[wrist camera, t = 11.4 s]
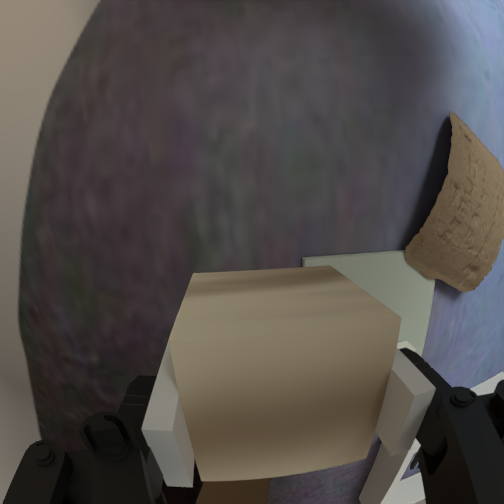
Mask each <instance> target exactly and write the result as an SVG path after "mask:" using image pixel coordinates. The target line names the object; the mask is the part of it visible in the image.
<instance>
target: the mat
mask: <svg viewBox="0 0 504 504" xmlns="http://www.w3.org/2000/svg"><path fill="white" fill-rule="evenodd" d="M328 265H330V266H332V267H333V268H335V269H336V270H337V271H339V272H340V273H342V274H343V275H344V276H346V277H347V278H349V279H350V280H351V281H353V282H354V283H356V284H357V285H358V286H360V287H361V288H362V289H364V290H365V291H367V292H368V293H369V294H371V295H372V296H373V297H375V298H376V299H378V300H379V301H380V302H382V303H383V304H384V305H386V306H387V307H388V308H390V309H391V310H392V311H394V312H395V313H396V314H398V315H399V316H400V317H402V319H401V325H400V331H399V337H398V342H402V341H407V342H408V343H410V344H411V345H412V346H413V347H414V348H415V349H416V350H415V352H416V353H417V354H419V355H420V356H422V352H423V348H424V343H425V339H426V334H427V329H428V324H429V318H430V313H431V306H432V300H433V293H434V286H435V279H429V278H426V277H425V276H424V275H423V274H422V273H421V272H420V271H419V270H418V269H416V268H415V267H413V266H412V265H411V264H409V263H408V261H407V260H406V250H397V251H384V252H371V253H357V254H343V255H329V256H314V257H302V267H313V266H328Z"/></svg>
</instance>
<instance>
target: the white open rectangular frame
mask: <svg viewBox="0 0 504 504" xmlns="http://www.w3.org/2000/svg"><path fill="white" fill-rule="evenodd" d="M503 379H504V372H501V373H499V374H497V375H496V376H494V377H492V378H490V379H488V380H486V381H485V382H483V383H481V384H479V385H477V386H475V387H473V388H471V389H470V390H472V391H474V392H475V393H476V394H477V395H484V394H490V393H493V392H494V390H495V388H496V386H497V383H498V382H499V381H501V380H503ZM420 446H421V445H420V444H419V442H418V441H417V439H416V438H415V440H414V442H413V445H412V447H411V449H410V450H408V451H405V452H402V453H400V454H397V455H394V456H391V457H390V455H389V453H388V452H387V450H386V448H385V447H384V445H383V443H381V446H380V448H379V451H378V454H377V456H376V459H375V461H374V464H373V466H372V469H371V471H370V474H369V476H368V478H367V481H366V483H365V485H364V487H363V489H362V492H361V494H360V496H359V500H360V502H361V504H414V503H416V502H418V501H420V500H422V499H425V494H424V488H423V482H422V477H421V472H420V473H418V474H415V475H413V476H411V477H408V478H406V479H403V480H401V481H400V479H401V477H402V475H403V474H404V472H405V470H406V468H407V466H408V464H409V462H410V460H411V458H412V456H413V454H414V453H416V452H418V450H419V448H420Z"/></svg>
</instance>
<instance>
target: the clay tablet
mask: <svg viewBox="0 0 504 504" xmlns="http://www.w3.org/2000/svg"><path fill="white" fill-rule="evenodd" d="M450 120H451V125H452V133H453V135H452V137H451V144H452V147H451V151H450V156H449V161H448V171H449V173H448V175H447V177H446V178H445V181H444V185H443V186H442V191H441V192H440V193H439V195H438V198H437V201H436V204H435V206H434V207H433V209H432V210H431V213H430V215H429V216H428V217H427V220H426V222H425V223H424V226H423V228H421V229H420V232H419V233H418V234H417V235H415V236H414V237H413V239H412V241H410V243H409V245H408V246H407V247H406V260H407V261H408V263H409V264H411V265H412V266H413V267H415V268H416V269H418V270H419V271H420V272H421V273H422V274H423V275H424V276H425V277H426V278H429V279H440V280H442V281H444V282H445V283H447V284H449V285H451V286H452V287H454V288H456V289H458V290H459V291H461V292H462V291H463V292H464V291H465V292H468V291H472V290H474V289H475V288H476V287H477V286H478V285H479V284H480V283H481V281H483V279H484V276H486V275H487V274H488V273H489V272H490V271H491V269H492V265H493V264H494V262H495V260H496V258H497V256H498V253H499V250H500V246H501V241H502V239H503V238H504V171H503V169H502V167H501V165H500V163H499V162H498V160H497V158H496V157H495V156H494V155H493V154H492V153H491V152H490V151H489V150H488V149H487V148H486V147H485V145H484V144H483V143H482V142H481V141H480V140H479V139H478V137H477V136H476V135H475V134H474V133H473V132H472V131H471V130H470V129H469V128H468V126H467V125H466V124H464V123H463V121H462V120H461V119H460V118H459V117H458V116H457V115H455V113H452V112H450Z"/></svg>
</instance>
